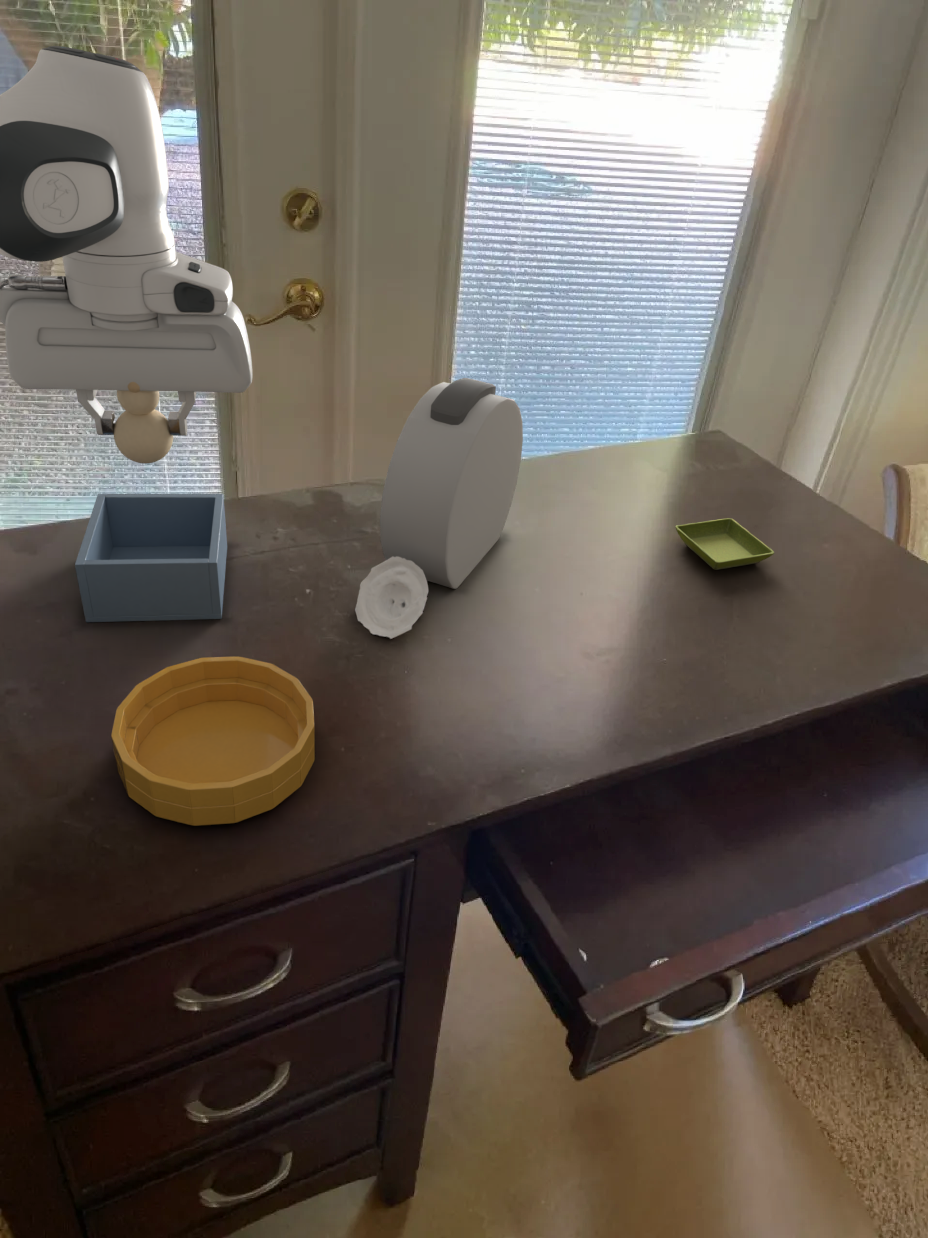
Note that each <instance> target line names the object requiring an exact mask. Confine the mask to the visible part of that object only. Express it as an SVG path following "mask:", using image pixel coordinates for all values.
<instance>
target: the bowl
mask: <svg viewBox="0 0 928 1238" xmlns="http://www.w3.org/2000/svg"><path fill="white" fill-rule="evenodd" d="M110 736H111V737H110V738H111V743H112V747H113V753H114V758H115V764H116V768H117V773H118V775H119V777H120V780H121V782H122V785H123V787H124V789H125V791H126V794H127V796H128V797H129V798H130V799H131V800H132V801H134V802H135V803H137V804H138V805H139V806H141V807H142V808H143V809H145V810H146V811H147V812H148V813H150V814H151V815H153V816H155V817H157V818H161V819H164V820H168V821H173V822H177V823H179V824H180V823H181V824H184V825H188V826H194V827H196V826H197V827H198V826H211V825H225V824H227V825H228V824H235V823H239V822H242V821H245V820H247V819H250V818H252V817H255V816H258V815H260V814H263V813H267V812H268V811H271V810H273V809H275V808H276V807H277V806H279V804H281V803H282V802H283V801H285V800H286V799H287V798H288V797H290V796H291V795H292V794H293V793H294V792H296V791H297V790H298V789H300V787H302V785H303V784H304V782H305V780H306V778H307V776H308V774H309V772H310V770H311V769H312V766H313V764H314V762H315V760H316V757H315V755H316V754H315V752H316V751H315V746H316V745H315V744H316V743H315V741H316V740H315V713H314V700H313V698H312V697H311V695H310V694H309V692H308V690H307V689H306V688H305V687H304V686H303V684H302V683H301V681H300V680H299V678H297V677H296V676H294V675H292V674H290V673H289V672H287V671H285V670H284V669H282V668H280V667H279V666H277V665H275V664H274V663H271V662H266V661H262V660H257V659H252V658H248V657H243V656H208V657H207V656H206V657H199V658H195V659H192V660H188V661H184V662H181V663H177V664H173V665H170V666H166V667H164V668H163V669H161V670H160V671H158V672H156V673H154V674H153V675H151V676H149V677H148V678H146V679H144V680H142V681H140V682H139V683H137V684H136V685H135V686H134V687H133V688H132V690H130V692H129V693H128V694H127V696H126V697H125V698H124V699H123V700H122V702H120V704H119V705H118V706H117V707H116V711H115V716H114V720H113V724H112V730H111V734H110Z"/></svg>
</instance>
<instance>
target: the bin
mask: <svg viewBox="0 0 928 1238" xmlns="http://www.w3.org/2000/svg"><path fill="white" fill-rule="evenodd" d="M226 522H227V521H226V509H225V497H224V493H98V494H97V495H96V499H95V501H94V504H93V508H92V511H91V514H90V517H89V520H88V523H87V527H86V529H85V532H84V535H83V538H82V541H81V544H80V547H79V550H78V553H77V557H76V559H75V563H74V569H75V574H76V578H77V583H78V589H79V595H80V598H81V599H80V600H81V605H82V609H83V615H84V619H85V622H86V623H109V622H110V623H111V622H113V623H115V622H153V621H192V620H193V621H195V620H222V618H223V607H224V606H223V605H224V596H225V595H224V593H225V580H226V570H227V569H226V568H227V555H228V539H227V526H226V525H227V524H226Z"/></svg>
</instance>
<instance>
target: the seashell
mask: <svg viewBox="0 0 928 1238" xmlns="http://www.w3.org/2000/svg"><path fill="white" fill-rule="evenodd" d="M428 594H429V585H428V581H427V580H426V577H425V575H424V572H423V570H422V569H420V567H418V566H417V565H416V564H415V563H414V562H413V561H411V560H406V559H405V558H403V559H402V558H401V557H397V556H396V557H393V556H392V557H391V558H389V559H388V560H386V559H385V560H384V561H382V562H381V563H379V564H376V565H375V566H373V567H371V568H370V572H369V573H368V574H367V576H365V577H364V579H363V580H362V581H360V584H359V590H358V595H357V600H356V604H355V608H354V612H355V615H356V619H357V622H359V623H361V624H362V627H364V628H366V629H367V630H368V631H369V633H370V634H372V635H376V636H379V637H383V638H384V637H386V638H389V639H390V640H391V639H393V638H396V637H398V636H401V635H403V634H405V633H407V632H409V631H411V630H413V625H414V624H415V623H416V622H417V621H418V619H419V618H420V617H421V616H422V615H423V614H424V612H423V611H425V606H426V602H427V600H428V597H427V596H428Z"/></svg>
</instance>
